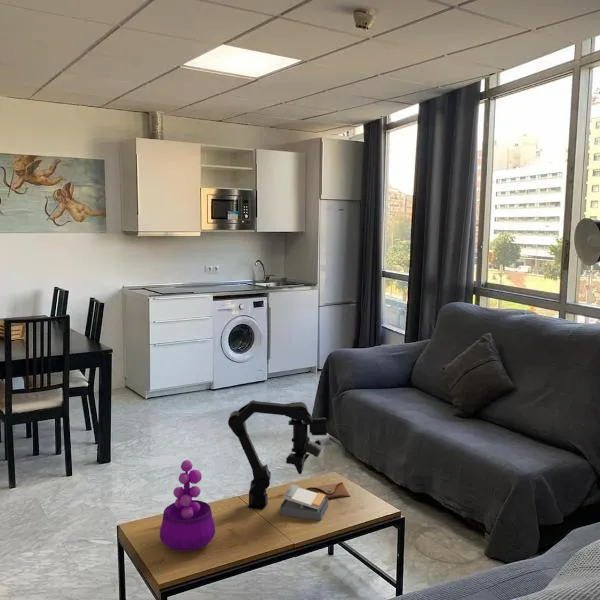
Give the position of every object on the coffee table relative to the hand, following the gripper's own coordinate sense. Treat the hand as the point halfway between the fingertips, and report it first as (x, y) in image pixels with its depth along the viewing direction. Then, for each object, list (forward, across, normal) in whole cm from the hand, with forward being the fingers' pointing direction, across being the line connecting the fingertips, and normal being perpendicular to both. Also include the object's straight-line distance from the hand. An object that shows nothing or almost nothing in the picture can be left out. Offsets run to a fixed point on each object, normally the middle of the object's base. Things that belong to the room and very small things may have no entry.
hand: (300, 473), depth 238 cm
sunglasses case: (+14, +12, -8) cm, 20 cm away
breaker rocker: (+8, -4, -3) cm, 9 cm away
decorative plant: (+13, -40, +29) cm, 51 cm away
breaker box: (+13, -4, -3) cm, 14 cm away
